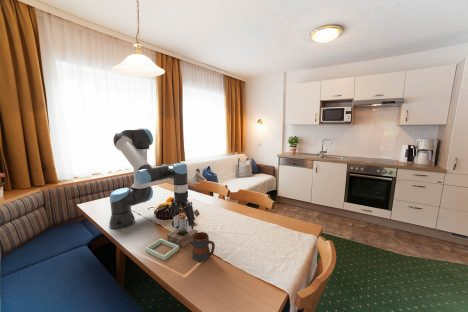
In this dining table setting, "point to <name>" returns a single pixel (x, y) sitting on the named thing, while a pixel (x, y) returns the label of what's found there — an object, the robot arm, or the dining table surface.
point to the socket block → (181, 237)
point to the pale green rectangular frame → (161, 256)
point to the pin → (182, 224)
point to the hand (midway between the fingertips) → (182, 228)
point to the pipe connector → (186, 223)
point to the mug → (202, 247)
